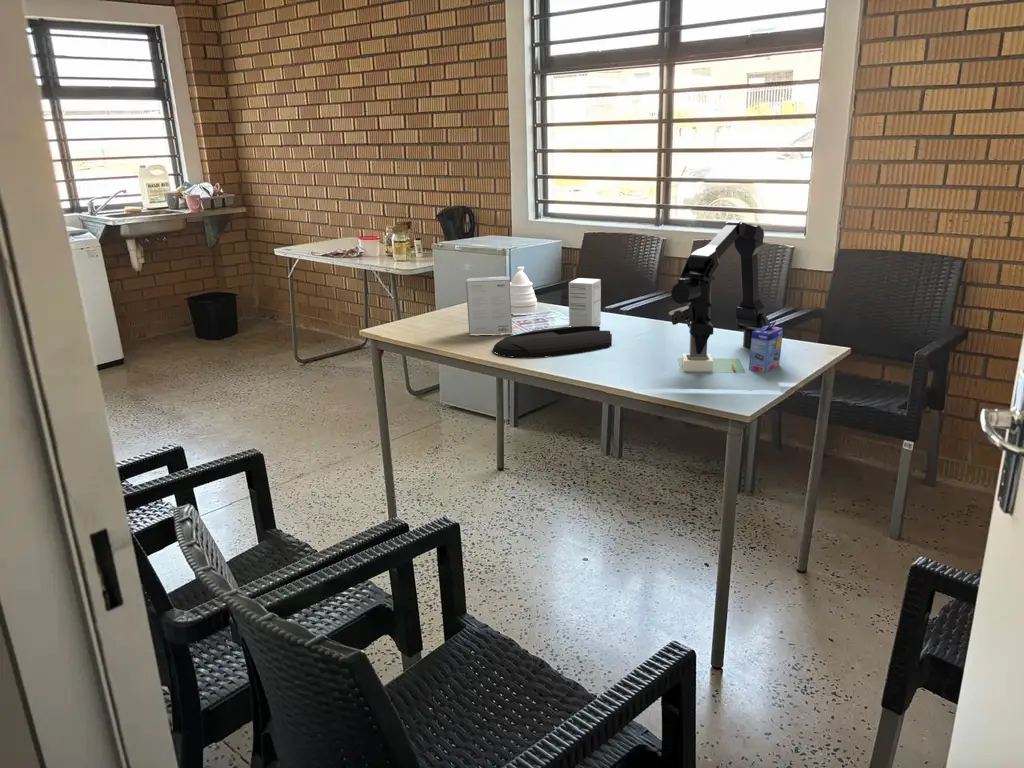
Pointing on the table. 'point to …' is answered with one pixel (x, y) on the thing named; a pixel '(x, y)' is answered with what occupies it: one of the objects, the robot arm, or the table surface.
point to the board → (721, 366)
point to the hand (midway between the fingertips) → (698, 351)
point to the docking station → (554, 342)
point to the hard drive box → (489, 305)
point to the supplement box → (585, 302)
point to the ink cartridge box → (765, 348)
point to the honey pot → (522, 294)
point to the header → (697, 363)
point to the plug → (693, 349)
